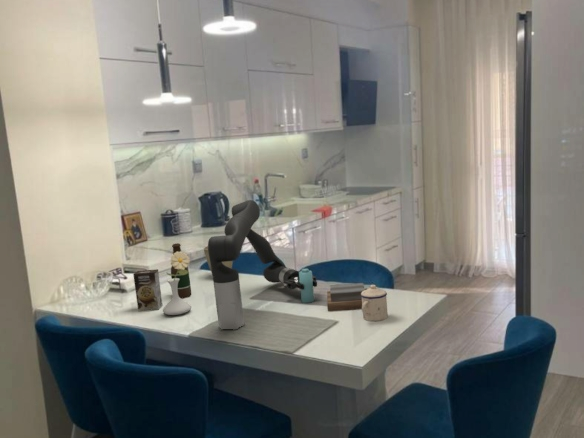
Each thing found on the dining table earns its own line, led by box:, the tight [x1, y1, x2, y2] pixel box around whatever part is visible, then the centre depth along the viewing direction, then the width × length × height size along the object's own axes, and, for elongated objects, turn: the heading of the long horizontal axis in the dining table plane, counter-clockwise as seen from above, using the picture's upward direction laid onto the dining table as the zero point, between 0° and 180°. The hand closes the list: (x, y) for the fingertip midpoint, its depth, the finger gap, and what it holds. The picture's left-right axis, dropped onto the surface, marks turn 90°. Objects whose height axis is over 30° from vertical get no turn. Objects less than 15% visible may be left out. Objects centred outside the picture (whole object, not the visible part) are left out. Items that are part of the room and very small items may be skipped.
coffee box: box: [133, 268, 163, 312], centre depth 233 cm, size 9×6×16 cm
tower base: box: [326, 282, 368, 312], centre depth 214 cm, size 16×16×6 cm
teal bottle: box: [299, 268, 315, 304], centre depth 222 cm, size 5×5×13 cm
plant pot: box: [203, 245, 234, 273], centre depth 274 cm, size 15×15×16 cm
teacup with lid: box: [361, 284, 389, 322], centre depth 193 cm, size 12×9×12 cm
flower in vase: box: [162, 250, 192, 316], centre depth 222 cm, size 13×11×25 cm
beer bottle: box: [170, 243, 192, 300], centre depth 246 cm, size 8×8×24 cm
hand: (309, 285), depth 220 cm, fingers closed on teal bottle, 5 cm apart
